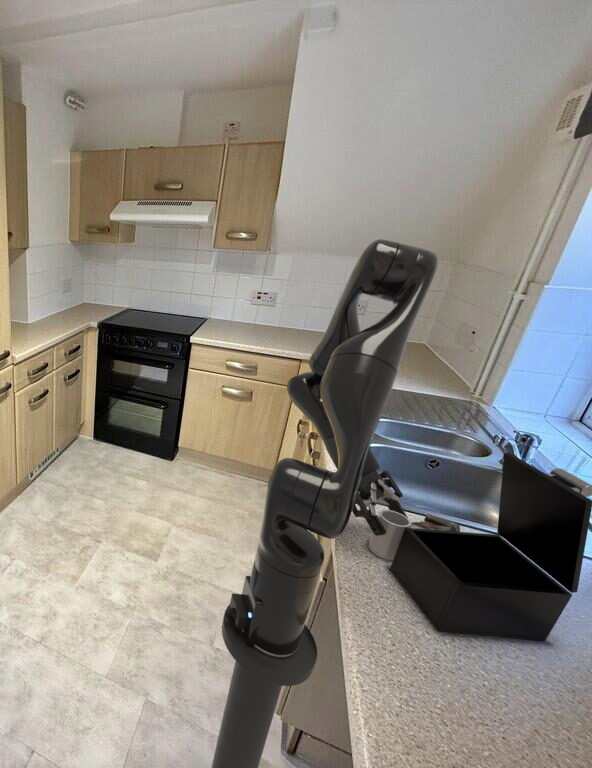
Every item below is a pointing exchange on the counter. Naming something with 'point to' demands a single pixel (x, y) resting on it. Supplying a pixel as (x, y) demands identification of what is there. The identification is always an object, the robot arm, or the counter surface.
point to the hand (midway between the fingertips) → (392, 528)
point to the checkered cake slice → (436, 524)
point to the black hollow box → (477, 584)
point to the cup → (389, 534)
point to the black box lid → (545, 517)
